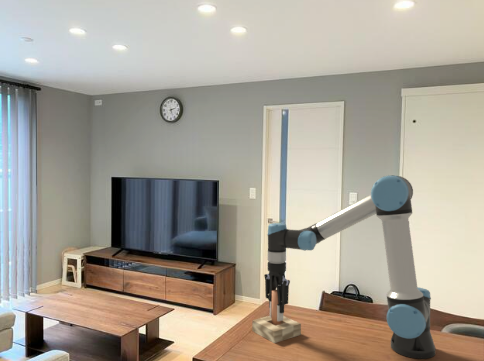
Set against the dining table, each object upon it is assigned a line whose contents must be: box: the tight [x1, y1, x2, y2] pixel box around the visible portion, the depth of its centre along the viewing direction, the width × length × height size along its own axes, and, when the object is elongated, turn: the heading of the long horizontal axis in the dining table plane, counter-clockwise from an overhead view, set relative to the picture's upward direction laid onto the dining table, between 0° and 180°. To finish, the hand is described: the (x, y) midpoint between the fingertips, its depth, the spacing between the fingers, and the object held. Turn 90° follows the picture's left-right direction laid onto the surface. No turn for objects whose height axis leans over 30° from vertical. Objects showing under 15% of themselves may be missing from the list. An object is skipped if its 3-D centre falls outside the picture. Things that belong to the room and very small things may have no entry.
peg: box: [272, 289, 282, 326], centre depth 155 cm, size 4×4×14 cm
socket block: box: [251, 315, 302, 344], centre depth 155 cm, size 14×14×4 cm
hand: (276, 318), depth 155 cm, fingers closed on peg, 4 cm apart
